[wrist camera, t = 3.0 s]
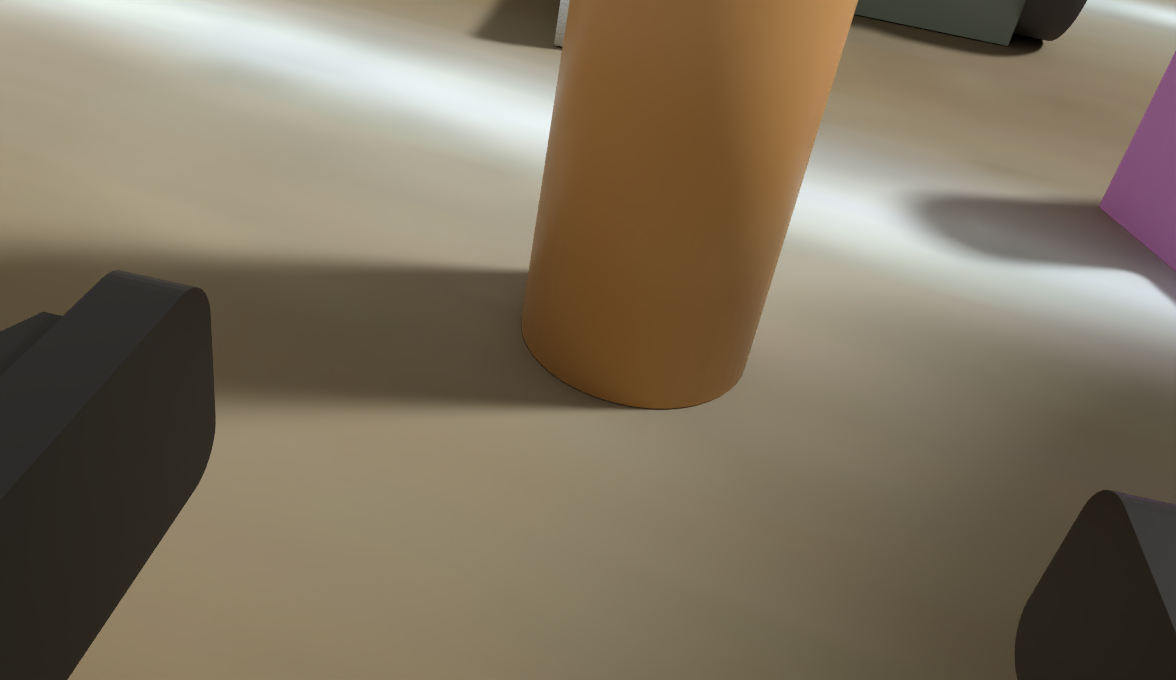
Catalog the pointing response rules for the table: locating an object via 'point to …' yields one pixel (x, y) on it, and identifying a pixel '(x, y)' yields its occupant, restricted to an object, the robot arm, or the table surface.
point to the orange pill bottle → (672, 188)
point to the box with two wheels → (956, 17)
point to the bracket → (1150, 176)
